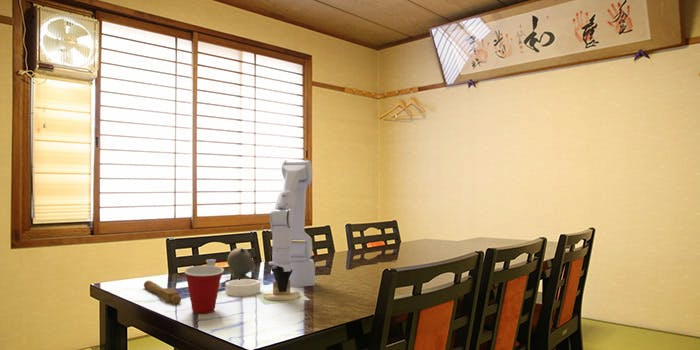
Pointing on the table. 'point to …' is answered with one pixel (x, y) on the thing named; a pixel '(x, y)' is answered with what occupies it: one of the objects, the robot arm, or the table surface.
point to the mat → (261, 297)
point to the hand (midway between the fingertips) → (281, 291)
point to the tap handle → (163, 292)
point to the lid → (281, 293)
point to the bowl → (242, 287)
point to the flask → (212, 263)
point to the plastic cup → (203, 287)
